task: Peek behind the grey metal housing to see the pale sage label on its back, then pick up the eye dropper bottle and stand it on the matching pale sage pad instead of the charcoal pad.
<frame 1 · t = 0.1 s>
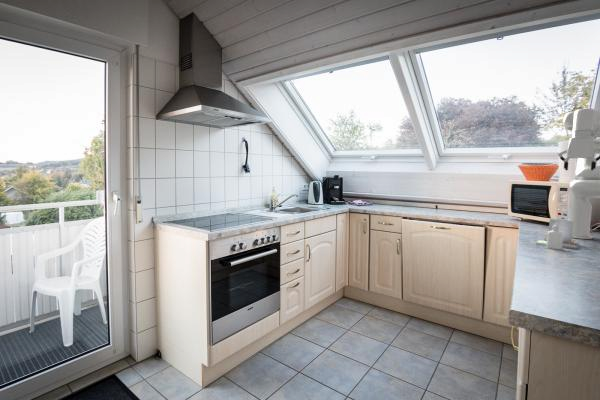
hand: (579, 170, 160), 37 cm above the worktop, tool pointing down, fingers open, 9 cm apart
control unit: (559, 242, 166), on the worktop
sage pad: (546, 244, 161), on the worktop
eye dropper bottle: (554, 248, 152), on the worktop
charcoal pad: (567, 247, 155), on the worktop
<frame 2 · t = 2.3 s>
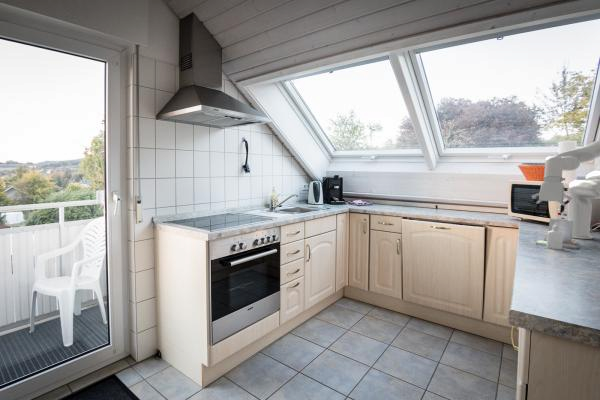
hand: (549, 211, 174), 14 cm above the worktop, tool pointing down, fingers open, 9 cm apart
nothing on the worktop moved.
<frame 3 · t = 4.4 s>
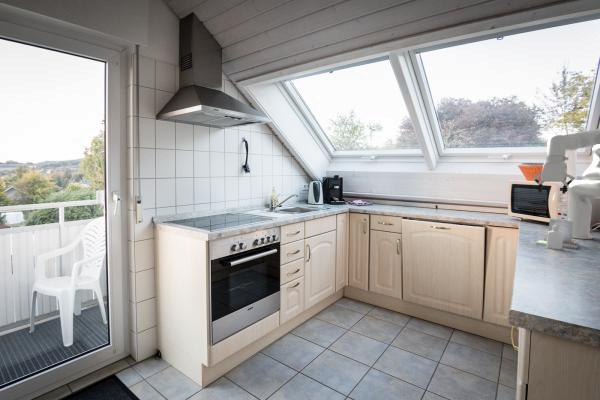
hand: (551, 192, 169), 25 cm above the worktop, tool pointing down, fingers open, 9 cm apart
nothing on the worktop moved.
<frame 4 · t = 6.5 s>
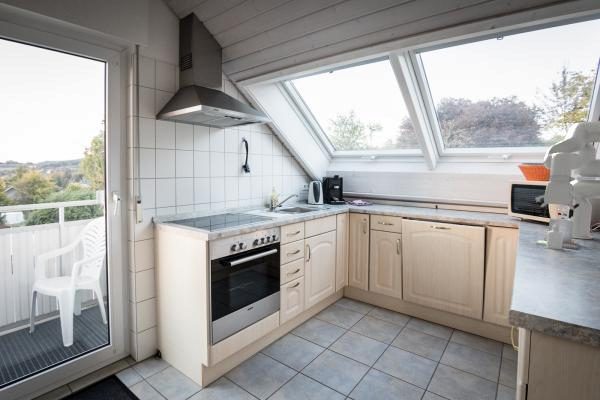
hand: (556, 216, 151), 15 cm above the worktop, tool pointing down, fingers open, 9 cm apart
nothing on the worktop moved.
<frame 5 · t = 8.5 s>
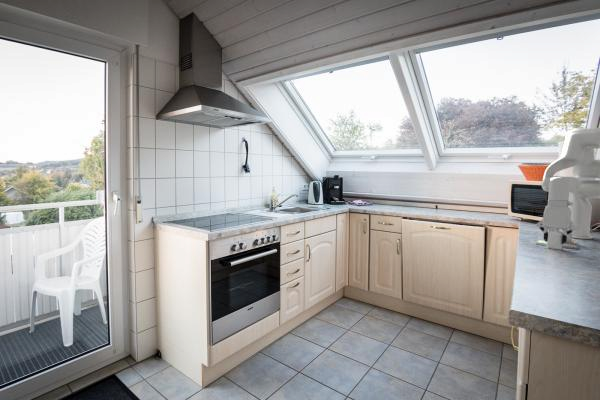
hand: (554, 241, 152), 3 cm above the worktop, tool pointing down, fingers closed on eye dropper bottle, 5 cm apart
eye dropper bottle: (554, 248, 152), on the worktop, touching gripper
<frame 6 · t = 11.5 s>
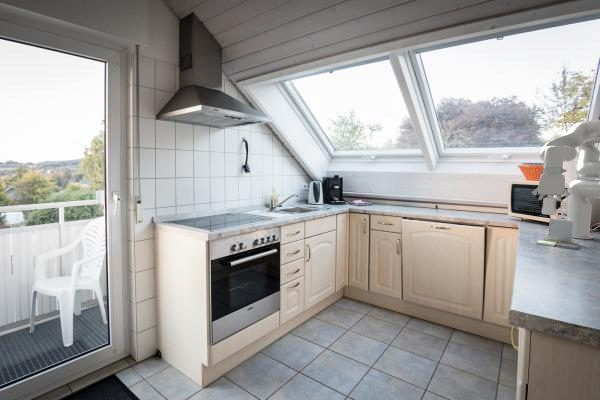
hand: (549, 208, 159), 18 cm above the worktop, tool pointing down, fingers closed on eye dropper bottle, 5 cm apart
eye dropper bottle: (548, 214, 160), point 15 cm above the worktop, touching gripper
when the fingers open (5 cm above the worktop, at t = 14.4 s): eye dropper bottle drops 1 cm, resting on sage pad.
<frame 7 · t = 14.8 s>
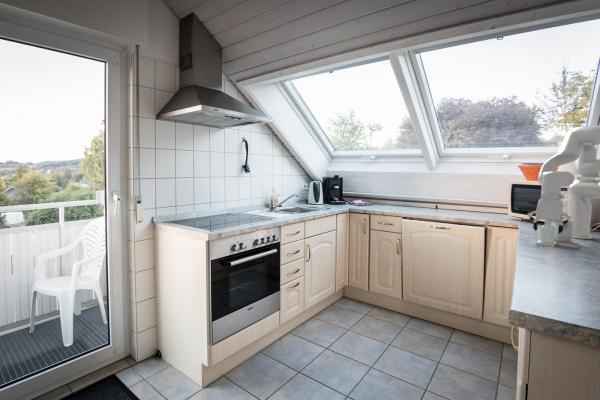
hand: (547, 231, 160), 6 cm above the worktop, tool pointing down, fingers open, 9 cm apart
eye dropper bottle: (546, 242, 161), point 1 cm above the worktop, touching sage pad
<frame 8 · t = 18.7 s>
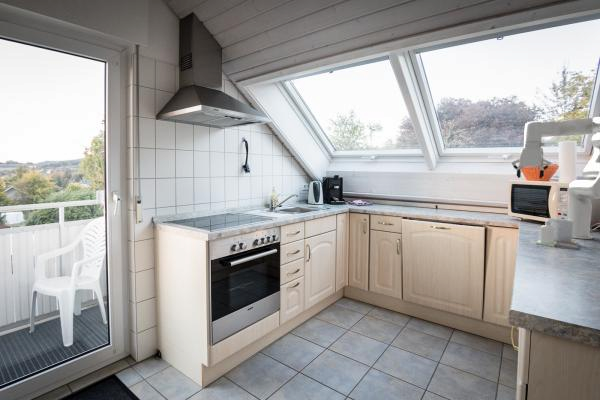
hand: (529, 177, 174), 32 cm above the worktop, tool pointing down, fingers open, 9 cm apart
at the end: eye dropper bottle 0.2 cm off-centre on the sage pad, point 0.8 cm above the sage pad's base; eye dropper bottle tilted 0°; the gripper is holding nothing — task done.
